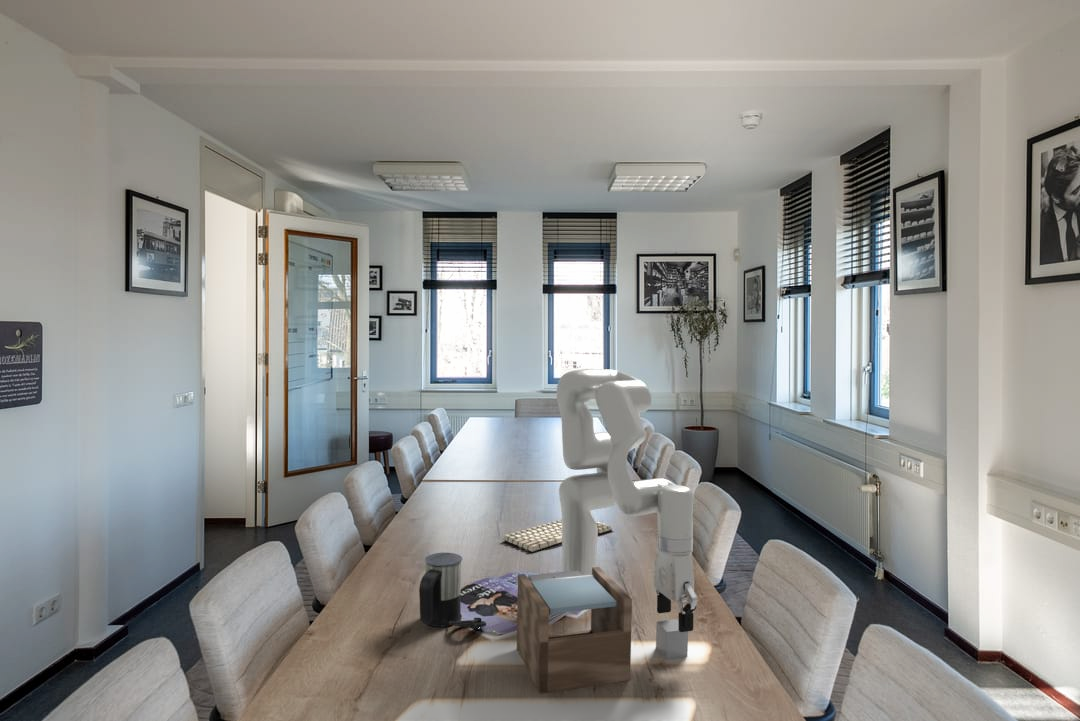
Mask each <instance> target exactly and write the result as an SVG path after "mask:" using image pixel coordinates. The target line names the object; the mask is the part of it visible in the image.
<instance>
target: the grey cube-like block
mask: <svg viewBox="0 0 1080 721" xmlns="http://www.w3.org/2000/svg"><path fill="white" fill-rule="evenodd" d="M655 630H656V632H655V637H656V638H655V649H656V650H657V651H659V653H660V654H661V655H662V656H663V658H665V659H666V660H670V659H676V658H677V659H678V658H685V657H688V651H689V650H688V647H689V644H688V642H689V640H688V638H689V631H687V632H680V631H679V619H678V618H676V619H675V618H674V619H666V620H659V621H658V620H657V621H656V629H655Z"/></svg>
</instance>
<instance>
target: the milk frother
mask: <svg viewBox="0 0 1080 721" xmlns="http://www.w3.org/2000/svg"><path fill="white" fill-rule="evenodd" d="M423 561H424V562H425V573H424V574H423V576H422V578H421V579H420V583H419V586H418V587H419V588H418V592H419V594H418V595H419V619H420V621H421V622H423V623H425V624H427V625H429V626H433V627H441V628H443V627H449V626H455V627H459V628H460V627H462V628H472V629H474V630H475V629H478V628H479V627H481V628H485V627H486V626H487V622H485V621H483V619H482V618H481V617H474V618H473V619H466V620H462V617H463V616H462V612H461V611H462V610H461V607H462V606H461V604H462V603H461V590H462V589H461V588H462V587H461V586H462V585H461V584H462V579H461V577H462V561H463V557H462V556H461V555H460V554H458V553H455V552H454V553H453V552H436V553H432V554H429V555H427V556H426V557H425V558H424V560H423Z"/></svg>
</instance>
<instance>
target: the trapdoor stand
mask: <svg viewBox="0 0 1080 721" xmlns="http://www.w3.org/2000/svg"><path fill="white" fill-rule="evenodd" d="M592 575H594V578H595V580H596V581H597V582H598V583H599V584H600V585H601V586H602V587H603V588H604V589H605V590H606V591H607V592H608V593H609V594H610V595H611V596H612V597H613V598H614V599H615V600H616V606H614V607H605V608H596V609H590V630H581V631H580V630H579V631H573V632H565V633H557V634H556V633H555V634H549V633H550V632H549V627H550V623H549V622H550V613H549V608H548V606H547V605H546V604H545V602H544V601H543V599H542V598H541V596H540V595H539V593H538V592H537V591H536V589H535V588H534V586H533V585H532V583H531V582H530V580H529V579H528V576H527V575H526V573H519V574H517V600H516V601H517V602H516V603H517V604H516V606H517V608H516V610H517V611H516V613H517V614H516V650H517V652H518V653H519V656H520V657H521V659H522V662H523V663H524V665H525V667H526V670H527V672H528V674H529V675H530V678H531V680H532V681H533V683H534V686H535V687H536V689H537V692H538V694H546V693H551V692H559V691H564V690H572V689H578V688H584V687H585V688H586V687H591V686H597V685H604V684H611V683H618V682H619V683H620V682H625V681H630V680H631V659H632V658H631V657H632V655H631V653H632V623H633V622H632V617H633V615H632V614H633V599H632V598H631V597H630V596H629V595H628V594H627V592H625V591H624V590H623V589H622V587H620V586H619V585H618V584H617V583H616V582H615V581H614V580H613V579H612V578H611V577H610V576H609V575H608V574H607V573H606V572H605V571H604V570H603V569H601V567H599V566H597V567H592Z"/></svg>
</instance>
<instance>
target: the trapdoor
mask: <svg viewBox="0 0 1080 721" xmlns="http://www.w3.org/2000/svg"><path fill="white" fill-rule="evenodd" d="M527 578H528V579H529V580H530V582H531V583H532V585H533V586H534V588H535V589H536V591H537V592H538V593H539V595H540V596H541V598H542V599H543V601H544V602H545V604H546V605H547V606H548V608H549V615H552V614H559V613H560V614H561V613H567V612H578V611H587V610H591V609H596V608H605V607H614V606H616V600H615V599H614V598H613V597H612V596H611V595H610V594H609V593H608V592H607V591H606V590H605V589H604V588H603V587H602V586H601V585H600V584H599V583H598V582H597V581H596V580H595V578H594V575H584V576H583V575H582V574H581V573H580V572H579V571H578V570H577V571H566V572H561V571H559V572H557V571H556V572H548V573H537V574H529V575H528V576H527Z"/></svg>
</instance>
